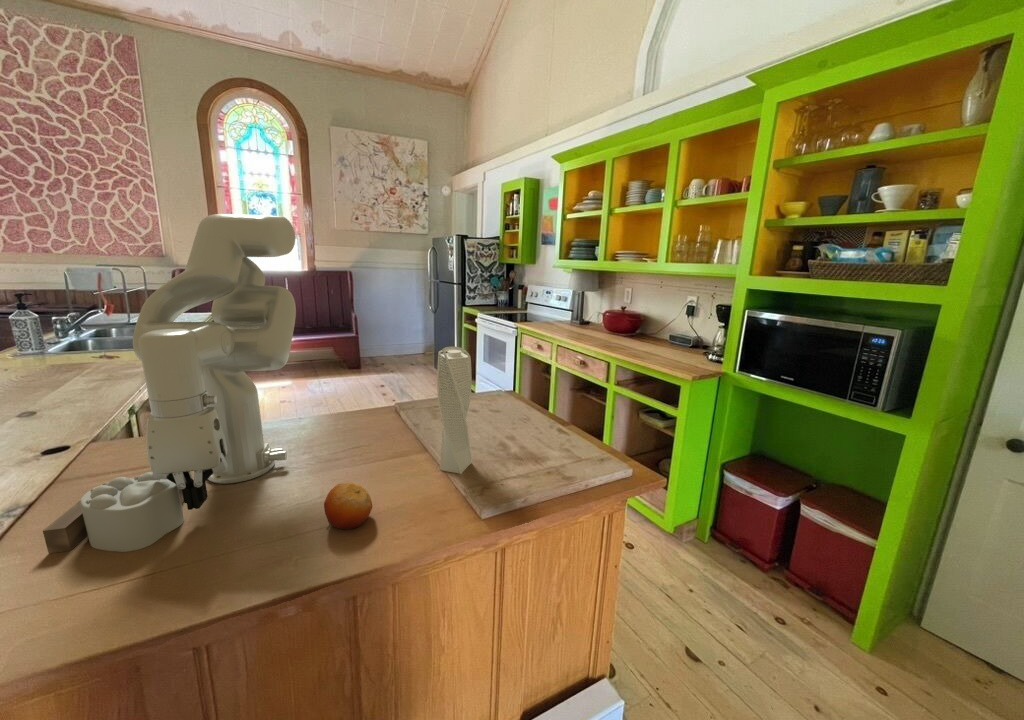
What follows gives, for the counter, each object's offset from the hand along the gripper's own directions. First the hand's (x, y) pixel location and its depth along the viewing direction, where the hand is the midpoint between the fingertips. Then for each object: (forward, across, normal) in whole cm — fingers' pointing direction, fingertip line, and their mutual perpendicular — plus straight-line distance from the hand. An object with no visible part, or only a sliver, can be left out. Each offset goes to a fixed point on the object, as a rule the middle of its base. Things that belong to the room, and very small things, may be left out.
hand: (197, 504), depth 76 cm
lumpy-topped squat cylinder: (+3, +10, 0) cm, 10 cm away
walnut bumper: (+3, +13, -2) cm, 13 cm away
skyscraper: (+3, -46, -9) cm, 47 cm away
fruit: (+3, -25, +7) cm, 26 cm away
